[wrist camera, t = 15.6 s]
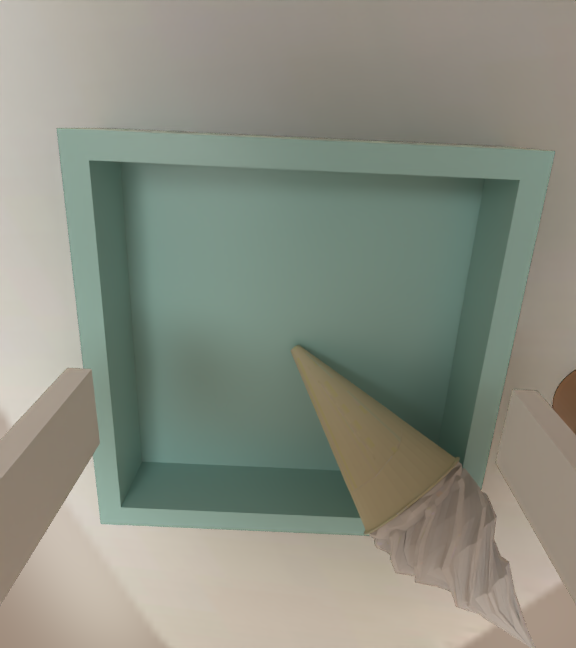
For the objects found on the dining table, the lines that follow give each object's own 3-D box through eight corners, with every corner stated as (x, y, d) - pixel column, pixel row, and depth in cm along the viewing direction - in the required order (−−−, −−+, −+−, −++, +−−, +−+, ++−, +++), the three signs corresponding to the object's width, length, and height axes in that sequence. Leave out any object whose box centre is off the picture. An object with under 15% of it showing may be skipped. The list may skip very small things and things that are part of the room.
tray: (98, 127, 21) (56, 128, 17) (509, 146, 21) (555, 150, 17) (127, 469, 27) (100, 524, 24) (446, 483, 27) (470, 540, 24)
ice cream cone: (271, 384, 26) (478, 659, 22) (233, 380, 22) (488, 730, 17) (346, 320, 26) (575, 589, 21) (324, 301, 21) (614, 643, 16)
